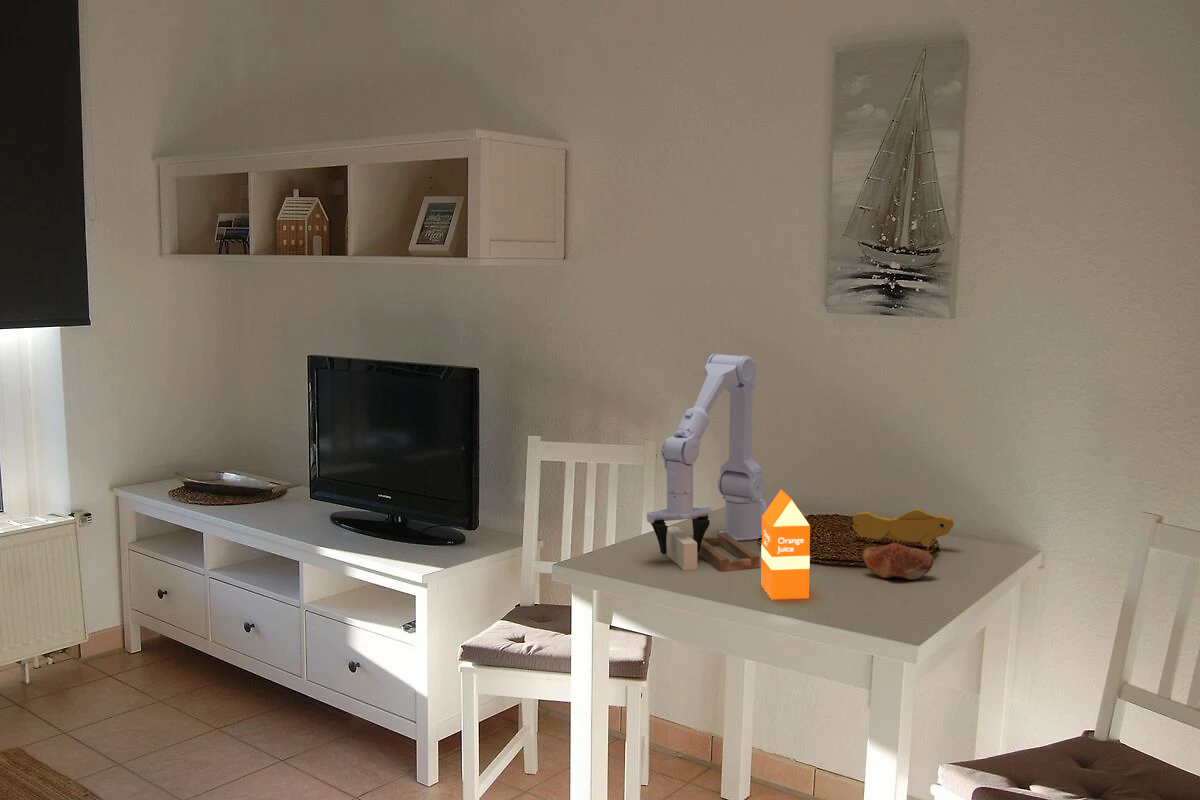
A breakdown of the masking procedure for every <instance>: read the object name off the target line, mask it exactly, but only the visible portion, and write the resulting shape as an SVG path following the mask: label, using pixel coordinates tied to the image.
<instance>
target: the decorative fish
mask: <svg viewBox="0 0 1200 800" xmlns="http://www.w3.org/2000/svg"><path fill="white" fill-rule="evenodd" d="M852 521H853V523H854V524H853V525H852V529H853V530H854V532H856V533H857V535H858V536H859V537H860V538H861V537H867V538H875V539H880V540H881V539H883V538H887V539H890V540H893V541H897V542H899V541H903V542H910V543H909V544H912V543H917V542H918V543H919V542H921V545H922V547H924V546H926V547H930V545H931V546H932V544H933V543H934V542H933V541H934V540H935V539H937V538H939V537H943V536H945V535H948V534H949V533H950V531H951V530H952V528H953V527H954V520H953V518H952V517H950V516H946V515H943V514H940V515H934V514H932V513H928V512H926V511H925V510H922V509H919V508H915V509H911V510H909V511H908V512H906V513H904V514H902V515H900V516H898V517H897V516H894V517H893V518H888V517H884V516H881V515H880V516H879V515H877V514H874V513H873V512H869V511H862V512H857V513H855V514H853V516H852ZM903 542H902V543H903ZM930 548H931V547H930Z"/></svg>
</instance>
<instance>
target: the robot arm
mask: <svg viewBox="0 0 1200 800" xmlns="http://www.w3.org/2000/svg"><path fill="white" fill-rule="evenodd" d="M756 368H757V366H756V362H755V361H754V360H753V359H752V357H751V356H749V355H733V354H732V355H731V354H720V353H719V354H718V353H713V354H711V355H710V356H709V357H708V359H707V361H706V365H704V375H705V376H704V377H705V379H704V382H703V385H702V386H701V389H700V391H699V394H698V396H697V398H696V400H695V403H694V404H693V407H690V408H688V409H686V410H685V412H684V413H683V415H682V418H681V419H680V422H679V423H678V425H677V427H676V428H675V431H674V432H673V434H672V435H671V436H669V437H668V438H666V439H664V441H663V442H662V443H663V444H662V446H661V447H662V448H661V449H660V456H661V459H662V461H663V464H664V466H663V467H664V469H665V470H666V509H659V510H655V511H647V512H646V521H647V522H648V523H649V524H650V525H651V527H652V528H653V530H654V533H655V535H656V538H657V541H658V546H659V551H660V553H661V554H662V555H666V553H667V545H666V538H667V529H668V527H669V526H668V525H666V522H668V521H680V520H682V521H683V520H691V522H692V531H693V532H692V533H693V534H692V535H693V540H694V541H696V542H697V552H698V551H700V546H701V542H702V539H703V537H705V533H706V532H707V530H708V528H709V527H710V521H711V520H710V519H713V518H714V515H713V513H714V510H713V508H711V507H694V464H695V462H697V460H698V458H699V454H700V446H701V444H702V443H701V439H702V437H703V435H704V433H705V431H706V429H707V428H708V425H709V424H710V417H709V415H708V414H709V413H710V411H711V409H713V407H714V405H715V403H716V402H717V400H718V399H719V398H720V396H721V394H722V393H723V391H724V390H726V391H727V392H728V393H729V440H728V442H729V444H728V445H729V450H728V451H729V452H728V453H729V454H728V455H729V456H728V457H729V458H728V460H726V461H725V462H724V463H723V464H721V466H720V472H719V476H718V479H717V488H718V491H719V493H720V495H722V499H723V500H725V513H724V515H725V523H724V524H725V529H724V530H718V531H719V532H718V533H723V532H725V533H727V534H728V535H730V536H731V537H733V538H734V539H736V540H737V541H738V542H740V541H749V540H750V541H752V540H760V539H759V538H760V536H761V535H762V516H763V515H764V513H765V512H766V510H767V509H768V506H767V503H766V501H765V499H763V498H761V497H762V496H763V494H764V492H765V480H764V478H763V477H764V476H763V468H762V467H761V466H760V465H759V464H758V463H757V462H756V461H754V459H753V458H752V457H753V456H752V455H753V453H752V451H753V450H752V449H753V397H754V395H753V393H754V390H755V388H756Z"/></svg>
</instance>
